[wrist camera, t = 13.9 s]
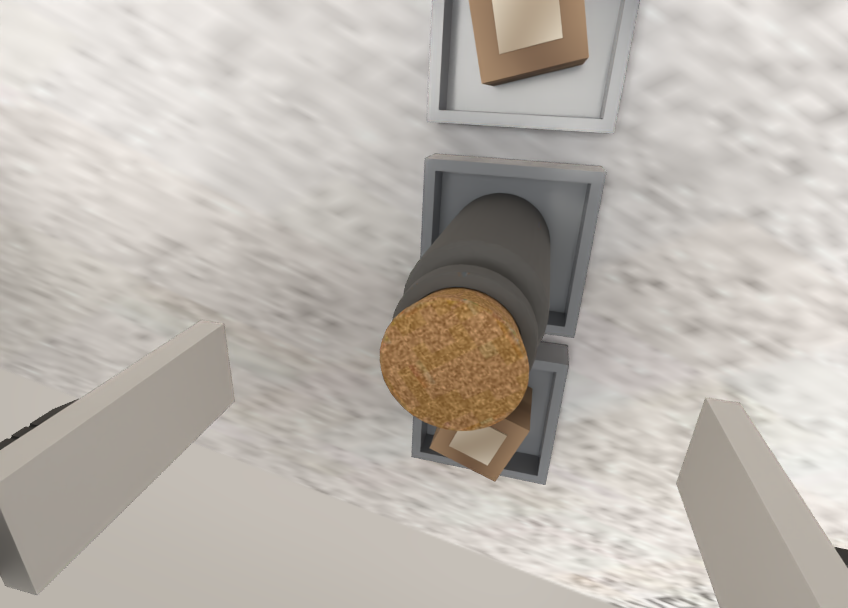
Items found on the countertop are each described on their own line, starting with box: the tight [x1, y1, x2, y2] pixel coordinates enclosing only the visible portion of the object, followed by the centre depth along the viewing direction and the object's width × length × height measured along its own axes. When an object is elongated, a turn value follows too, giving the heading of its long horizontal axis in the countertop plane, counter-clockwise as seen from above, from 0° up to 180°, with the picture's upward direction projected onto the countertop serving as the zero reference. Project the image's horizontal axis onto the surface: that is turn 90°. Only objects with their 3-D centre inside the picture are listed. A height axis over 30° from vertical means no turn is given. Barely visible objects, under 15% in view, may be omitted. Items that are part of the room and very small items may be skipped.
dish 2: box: [420, 154, 606, 338], centre depth 27 cm, size 9×9×2 cm
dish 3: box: [412, 342, 569, 485], centre depth 32 cm, size 9×9×2 cm
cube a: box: [469, 0, 589, 86], centre depth 22 cm, size 4×4×5 cm
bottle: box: [380, 193, 550, 431], centre depth 21 cm, size 6×6×15 cm
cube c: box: [430, 386, 532, 481], centre depth 30 cm, size 4×4×5 cm
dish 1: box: [427, 0, 640, 134], centre depth 23 cm, size 9×9×2 cm
